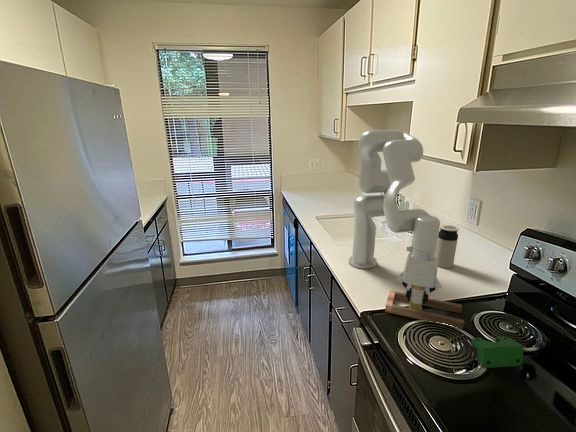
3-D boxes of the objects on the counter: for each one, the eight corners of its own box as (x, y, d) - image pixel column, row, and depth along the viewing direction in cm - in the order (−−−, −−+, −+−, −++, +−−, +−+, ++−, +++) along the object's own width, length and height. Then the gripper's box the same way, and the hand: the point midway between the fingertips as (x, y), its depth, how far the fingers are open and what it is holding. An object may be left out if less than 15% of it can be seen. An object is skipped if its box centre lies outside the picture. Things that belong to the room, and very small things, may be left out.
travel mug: (456, 266, 146) (463, 228, 141) (445, 270, 143) (451, 231, 137) (441, 259, 153) (447, 223, 147) (429, 263, 149) (435, 226, 144)
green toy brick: (499, 367, 94) (512, 338, 94) (515, 378, 88) (528, 347, 88) (463, 353, 93) (475, 324, 93) (476, 363, 87) (490, 332, 87)
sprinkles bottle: (411, 303, 117) (416, 269, 113) (424, 308, 114) (429, 274, 110) (406, 308, 114) (410, 274, 110) (419, 314, 111) (424, 279, 107)
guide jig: (389, 296, 122) (389, 290, 122) (460, 310, 113) (461, 304, 112) (385, 311, 113) (385, 305, 112) (462, 329, 104) (463, 322, 103)
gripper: (395, 252, 107) (389, 300, 113) (451, 261, 101) (443, 312, 107) (397, 244, 114) (392, 290, 120) (450, 252, 108) (442, 300, 113)
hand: (416, 300), depth 113 cm, fingers closed on sprinkles bottle, 4 cm apart
